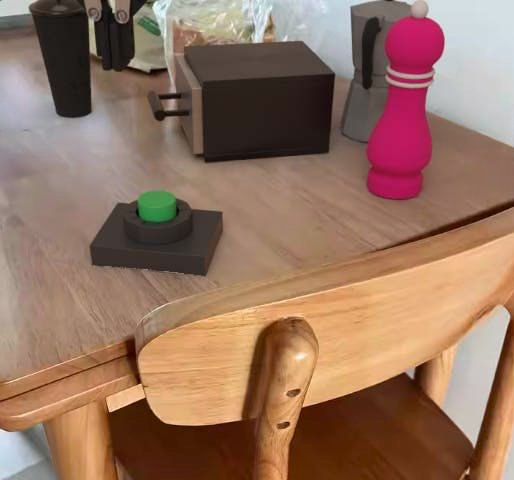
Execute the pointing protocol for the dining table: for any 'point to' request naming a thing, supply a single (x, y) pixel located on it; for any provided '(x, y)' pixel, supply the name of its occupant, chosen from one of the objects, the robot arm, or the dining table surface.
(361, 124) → the coffeepot
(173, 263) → the control block
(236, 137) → the cabinet
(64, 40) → the drinking cup
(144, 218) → the button
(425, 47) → the pepper mill
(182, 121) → the drawer
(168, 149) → the dining table surface
